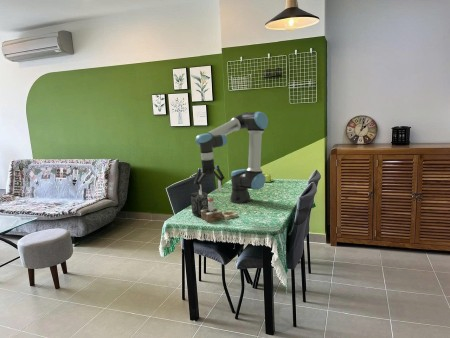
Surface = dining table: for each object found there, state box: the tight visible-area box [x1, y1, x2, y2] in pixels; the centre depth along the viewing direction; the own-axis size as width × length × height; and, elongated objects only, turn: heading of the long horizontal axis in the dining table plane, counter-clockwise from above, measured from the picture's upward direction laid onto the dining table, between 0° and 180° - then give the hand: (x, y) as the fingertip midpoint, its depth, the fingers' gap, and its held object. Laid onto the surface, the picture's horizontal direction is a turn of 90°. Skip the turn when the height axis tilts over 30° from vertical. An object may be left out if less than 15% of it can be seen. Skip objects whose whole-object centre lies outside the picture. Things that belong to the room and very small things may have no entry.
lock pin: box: [207, 197, 215, 212], centre depth 213 cm, size 4×4×13 cm
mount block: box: [222, 209, 239, 220], centre depth 217 cm, size 9×9×2 cm
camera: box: [190, 191, 209, 217], centre depth 222 cm, size 10×10×15 cm
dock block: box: [200, 206, 223, 224], centre depth 213 cm, size 10×10×6 cm
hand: (210, 192), depth 211 cm, fingers open, 13 cm apart
